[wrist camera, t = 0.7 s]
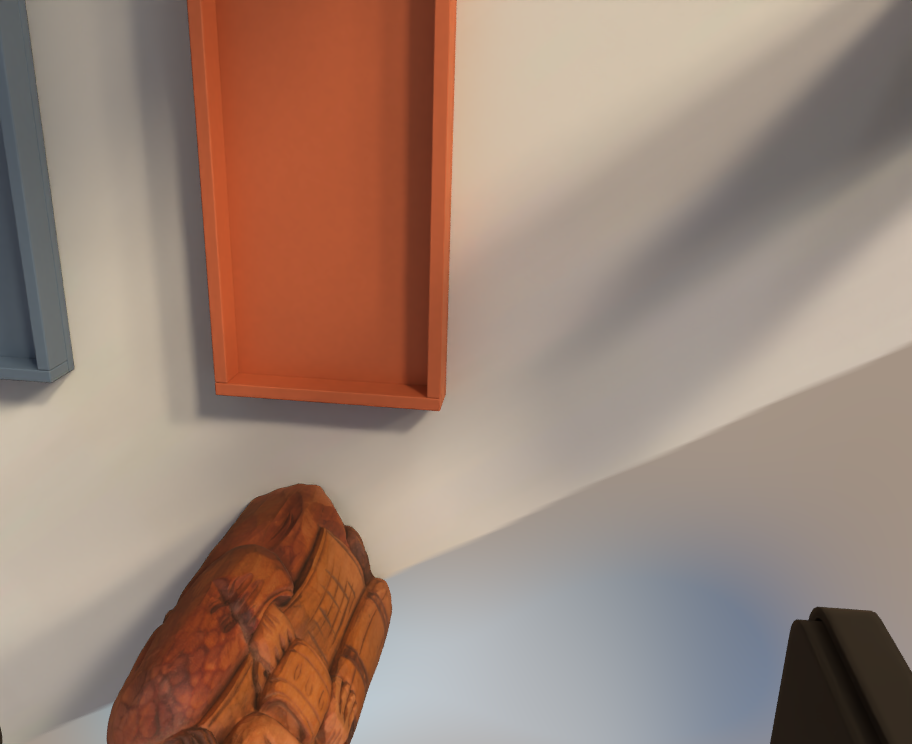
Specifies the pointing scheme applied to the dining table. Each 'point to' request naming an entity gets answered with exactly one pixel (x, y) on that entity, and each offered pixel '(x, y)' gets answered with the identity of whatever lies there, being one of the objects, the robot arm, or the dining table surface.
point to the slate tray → (27, 221)
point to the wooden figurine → (264, 636)
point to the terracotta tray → (326, 195)
